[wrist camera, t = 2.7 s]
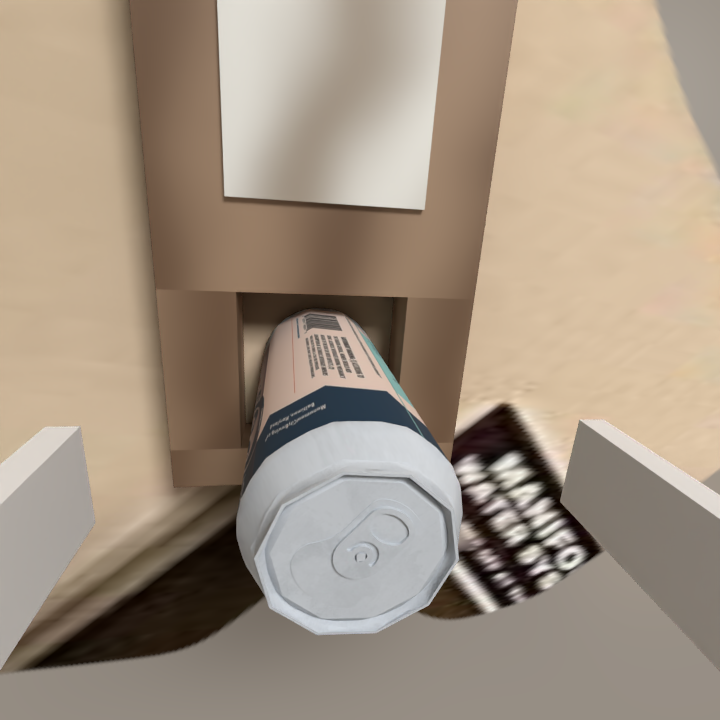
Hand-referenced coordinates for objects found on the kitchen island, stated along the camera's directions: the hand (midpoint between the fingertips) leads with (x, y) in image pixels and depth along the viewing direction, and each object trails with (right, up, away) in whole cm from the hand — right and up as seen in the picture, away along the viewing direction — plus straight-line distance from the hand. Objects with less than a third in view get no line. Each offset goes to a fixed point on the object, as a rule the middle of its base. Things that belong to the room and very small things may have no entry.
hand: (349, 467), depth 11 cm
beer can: (-2, +3, +8) cm, 9 cm away
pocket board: (-1, +8, +6) cm, 10 cm away
